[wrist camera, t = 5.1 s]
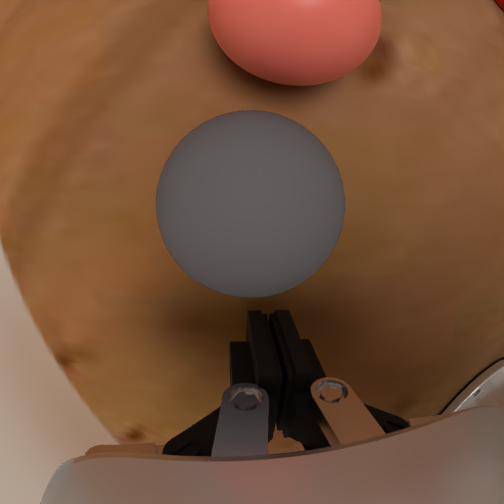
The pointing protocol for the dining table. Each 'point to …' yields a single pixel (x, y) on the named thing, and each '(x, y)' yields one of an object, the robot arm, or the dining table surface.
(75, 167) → the dining table surface
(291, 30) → the red ball
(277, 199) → the gray ball
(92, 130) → the dining table surface
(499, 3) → the beverage can
